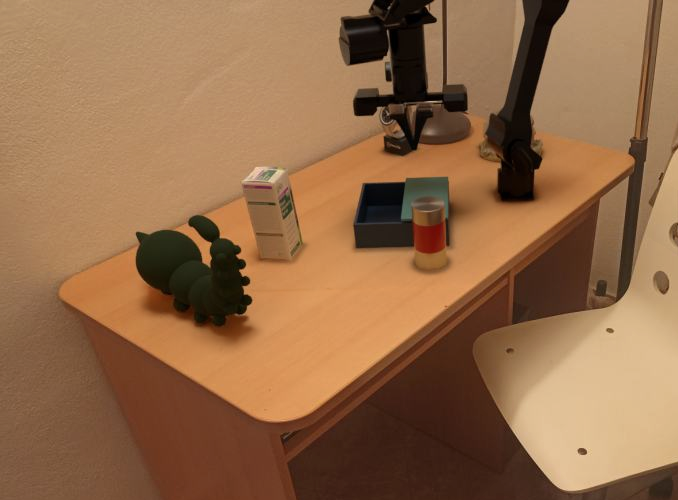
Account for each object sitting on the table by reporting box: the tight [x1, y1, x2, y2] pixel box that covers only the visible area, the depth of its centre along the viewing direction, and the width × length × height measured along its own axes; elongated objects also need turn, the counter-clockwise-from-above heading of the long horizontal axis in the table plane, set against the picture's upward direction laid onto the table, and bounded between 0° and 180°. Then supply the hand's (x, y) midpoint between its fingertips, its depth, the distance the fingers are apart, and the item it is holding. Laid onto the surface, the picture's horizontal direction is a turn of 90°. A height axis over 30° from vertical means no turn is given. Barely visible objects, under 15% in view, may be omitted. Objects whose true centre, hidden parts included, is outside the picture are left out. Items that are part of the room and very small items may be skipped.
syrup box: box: [240, 166, 304, 261], centre depth 112 cm, size 6×6×14 cm
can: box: [411, 196, 448, 271], centre depth 109 cm, size 5×5×11 cm
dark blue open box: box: [352, 180, 450, 249], centre depth 121 cm, size 16×16×5 cm
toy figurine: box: [135, 214, 253, 328], centre depth 99 cm, size 9×19×25 cm
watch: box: [378, 106, 414, 156], centre depth 146 cm, size 6×8×11 cm
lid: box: [401, 176, 449, 221], centre depth 119 cm, size 8×16×1 cm, turn 179°
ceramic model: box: [478, 108, 544, 163], centre depth 144 cm, size 14×11×10 cm
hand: (414, 149), depth 118 cm, fingers closed
